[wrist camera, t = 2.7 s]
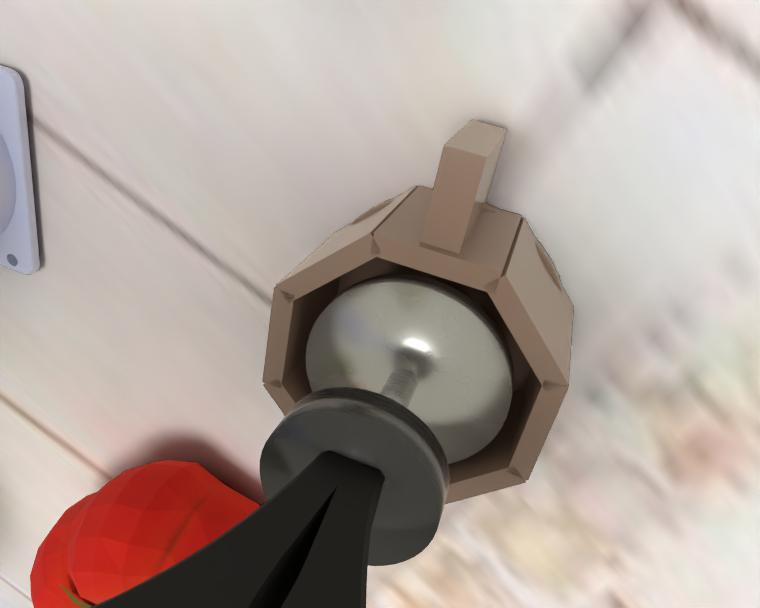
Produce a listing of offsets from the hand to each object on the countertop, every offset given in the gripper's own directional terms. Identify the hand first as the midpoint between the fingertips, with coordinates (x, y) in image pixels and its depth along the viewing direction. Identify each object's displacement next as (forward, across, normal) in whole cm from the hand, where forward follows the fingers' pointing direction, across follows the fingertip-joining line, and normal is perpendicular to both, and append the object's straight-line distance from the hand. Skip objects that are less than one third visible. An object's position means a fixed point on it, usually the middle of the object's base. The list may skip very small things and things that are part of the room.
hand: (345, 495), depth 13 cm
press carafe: (+9, 0, -1) cm, 9 cm away
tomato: (+9, +8, +15) cm, 19 cm away
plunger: (+5, 0, 0) cm, 5 cm away
